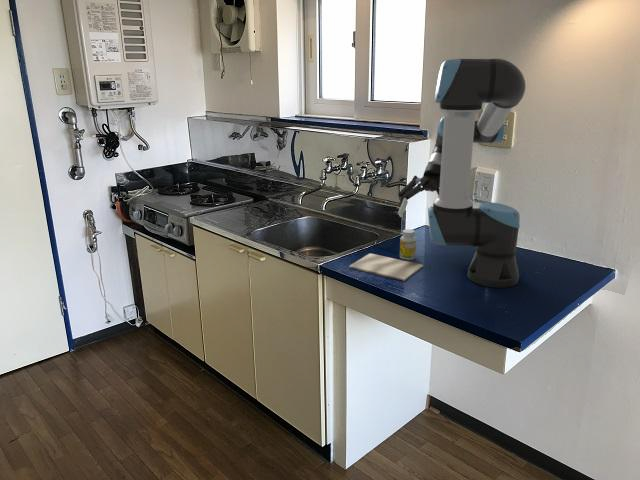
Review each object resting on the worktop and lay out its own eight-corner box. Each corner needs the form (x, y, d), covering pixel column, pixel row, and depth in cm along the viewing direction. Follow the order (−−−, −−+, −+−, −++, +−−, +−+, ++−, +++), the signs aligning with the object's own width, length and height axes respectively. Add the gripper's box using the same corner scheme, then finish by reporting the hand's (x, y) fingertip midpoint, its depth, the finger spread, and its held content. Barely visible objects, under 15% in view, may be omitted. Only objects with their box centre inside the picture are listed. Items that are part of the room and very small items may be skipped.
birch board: (422, 266, 171) (423, 264, 171) (404, 280, 160) (404, 279, 160) (369, 254, 182) (369, 253, 181) (349, 267, 171) (349, 265, 171)
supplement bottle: (415, 260, 176) (417, 233, 173) (400, 260, 177) (401, 233, 174) (414, 254, 181) (415, 228, 178) (399, 254, 182) (400, 228, 179)
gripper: (472, 178, 184) (453, 229, 178) (408, 170, 198) (388, 217, 191) (468, 166, 178) (449, 218, 172) (402, 159, 192) (382, 207, 185)
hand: (417, 218), depth 182 cm, fingers open, 13 cm apart
